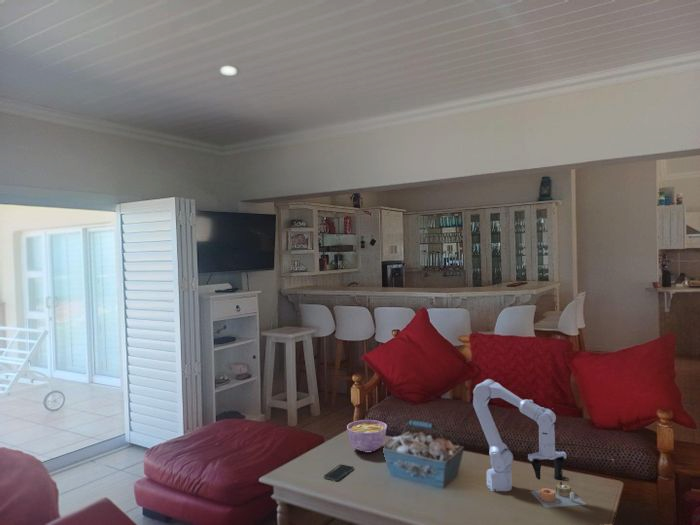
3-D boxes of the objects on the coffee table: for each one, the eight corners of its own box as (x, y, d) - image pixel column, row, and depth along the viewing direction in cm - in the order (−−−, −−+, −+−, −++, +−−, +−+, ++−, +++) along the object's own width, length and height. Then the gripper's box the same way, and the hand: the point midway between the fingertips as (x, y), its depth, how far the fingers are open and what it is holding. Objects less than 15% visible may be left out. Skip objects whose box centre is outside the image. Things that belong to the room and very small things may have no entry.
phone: (322, 476, 225) (340, 464, 238) (322, 479, 225) (340, 466, 238) (338, 480, 221) (355, 467, 234) (338, 482, 221) (355, 469, 234)
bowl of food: (395, 447, 258) (394, 424, 258) (372, 460, 243) (371, 436, 242) (363, 439, 271) (362, 417, 271) (339, 451, 255) (338, 428, 255)
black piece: (566, 490, 209) (566, 479, 209) (547, 487, 212) (547, 475, 212) (569, 478, 220) (569, 467, 219) (551, 475, 223) (551, 464, 223)
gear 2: (560, 497, 198) (560, 487, 198) (553, 490, 204) (553, 481, 204) (573, 496, 199) (573, 486, 199) (566, 489, 204) (566, 480, 204)
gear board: (545, 511, 191) (545, 499, 191) (530, 495, 204) (529, 484, 204) (586, 508, 192) (586, 496, 192) (568, 492, 205) (568, 481, 205)
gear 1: (544, 502, 195) (543, 495, 195) (537, 495, 200) (537, 488, 200) (557, 501, 195) (557, 494, 195) (551, 494, 201) (550, 487, 201)
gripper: (533, 447, 193) (534, 483, 193) (570, 444, 195) (571, 480, 195) (525, 440, 200) (525, 475, 200) (560, 438, 202) (561, 472, 202)
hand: (547, 477), depth 198 cm, fingers open, 7 cm apart
